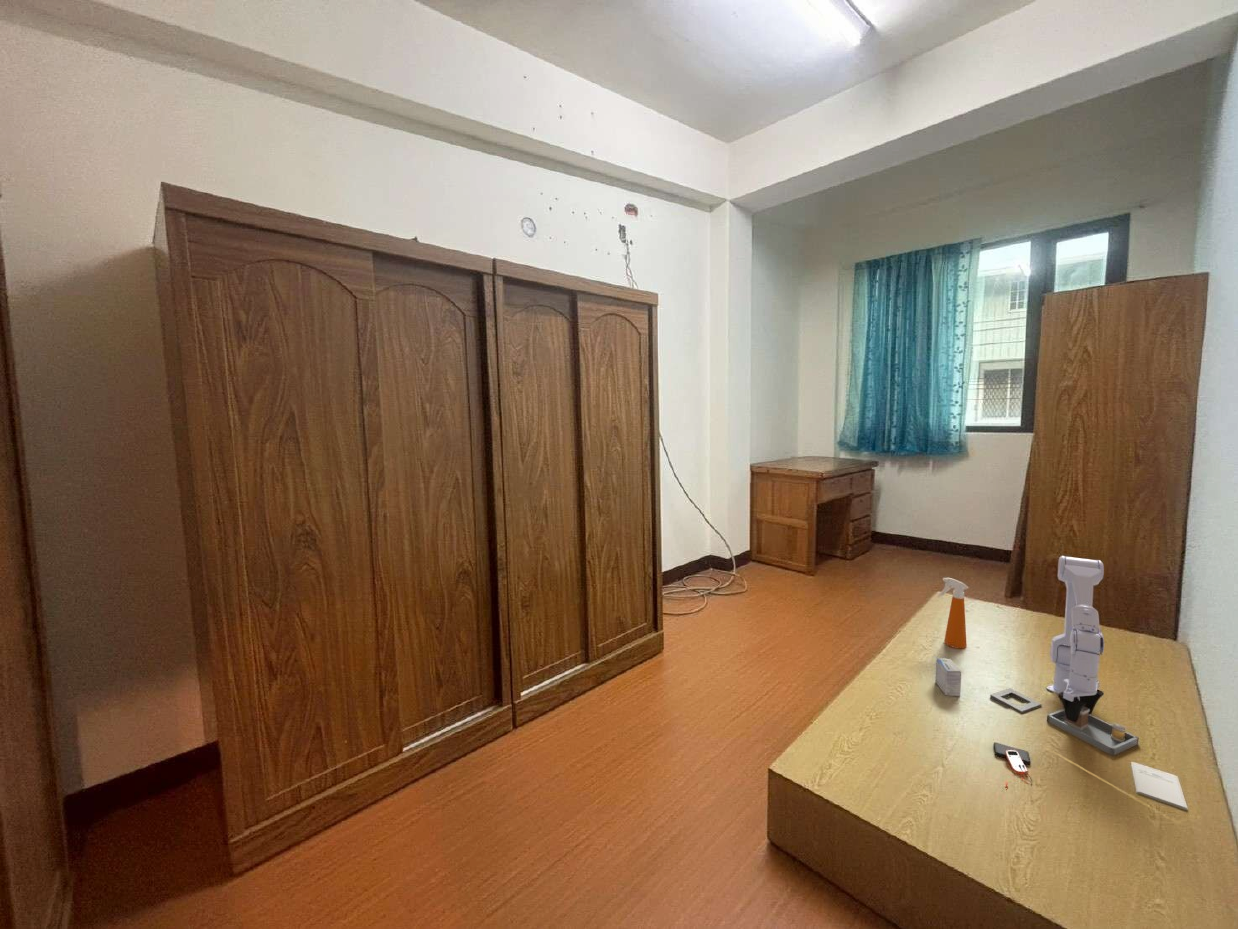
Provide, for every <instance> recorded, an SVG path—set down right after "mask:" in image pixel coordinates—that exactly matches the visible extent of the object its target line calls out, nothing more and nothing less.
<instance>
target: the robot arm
mask: <svg viewBox="0 0 1238 929" xmlns="http://www.w3.org/2000/svg"><path fill="white" fill-rule="evenodd" d="M1057 563H1058V564H1057V578H1058V580H1059V581H1061V582H1063V583H1064V584H1065V588H1066V592H1065V594H1066V596H1065V609H1064V610H1065V611H1064V612H1065V613H1064V626H1063V628H1064V629H1063V633H1062V634H1058V635H1056V636H1054V637H1052V639H1051V645H1050V652H1049V653H1050V654H1049V656H1050V661H1051V662H1052V664H1055V666H1054V675H1053V676H1054V677H1053V683H1052V685H1049V686H1047V687H1045V688H1046V690H1048V691H1049V692H1052V693H1056V694H1058V698H1059V700H1060V701H1061V704H1062V705H1063V706H1062V707H1063V709H1065V714H1066V718H1067V719H1068V720H1070V721H1073V722H1075V723H1076V722H1077V721H1078V718H1079V715H1080V712H1081V710H1082V708H1083V707H1086V708H1088V709H1090V710H1089V713H1088V714H1089V715H1092V713H1093V711H1094V709H1095V706H1096V705H1097V703H1098V702H1099V700H1100V699H1101V698H1102V696H1103V697H1104V691H1102V690H1100V689H1099V688H1100V681H1099V680H1098V677H1099V676H1098V673H1099V664H1100V656H1103V654H1104V650H1105V637H1104V634H1103V632H1102V631H1103V630H1102V629H1101V627H1100V616H1099V611H1098V610H1097V609H1096V608H1094V607H1093V604H1094V603H1093V600H1094V586H1098V585H1099V583H1100V582H1101V581H1102V580H1103V579H1104V574H1105V571H1104V570H1105V567H1104V563H1103V561H1101V560H1100V559H1089V558H1082V557H1081V558H1079V557H1072V556H1065V555H1060V557H1059V558H1058V562H1057Z"/></svg>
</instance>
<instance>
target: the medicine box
mask: <svg viewBox="0 0 1238 929" xmlns="http://www.w3.org/2000/svg"><path fill="white" fill-rule="evenodd" d="M934 678H935V680H934V681H935V683H936V684H937V686H938V687H939V688H940V689H941V692H942V693H943V694H944V695H945V696H950V697H951V696H952V697H961V689H962V688H961V685H962V671H961V670H960V669H959V667H958V666H957V664H955V663H954V661H953V660H952V659H951V658H940V657H938V658H936V662H935V677H934Z"/></svg>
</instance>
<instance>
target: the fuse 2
mask: <svg viewBox="0 0 1238 929" xmlns="http://www.w3.org/2000/svg"><path fill="white" fill-rule="evenodd" d="M1111 725H1112V734H1111V739H1113V740H1114V741H1116V742H1119V743H1122V742H1124V740H1125V739H1124V736H1125V731H1126V730H1127V728H1126V726H1124V725H1123V724H1121V723H1117V722H1113V723H1112V724H1111ZM1126 732H1127V731H1126Z"/></svg>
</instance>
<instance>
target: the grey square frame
mask: <svg viewBox="0 0 1238 929" xmlns="http://www.w3.org/2000/svg"><path fill="white" fill-rule="evenodd" d="M1010 697H1013V698H1015V699H1017V700H1019V701H1021V702H1023V703H1025V704H1023V705H1017V704H1015V703H1014V702H1012V701H1009V700H1008V699H1006V698H1010ZM989 698H990V699H991V700H993V701H995V702H997V704H998V703H999V704H1000V705H1003V706H1004V707H1006V708H1008V709H1012V710H1014V711H1016V712H1018V713H1019V714H1025V713H1027V712H1030V711H1032V710H1035V709H1038V708H1041V707H1042V705H1043V704H1042V703H1040V702H1039V701H1036V700H1035V699H1032V698H1031V697H1029V696H1026V695H1024V694H1022V693H1020V692H1019V691H1017V690H1015V689H1013V688H1011V687H1008V688H1006V689H1002V690H1000V691H998V692H994V693H991V694H990V696H989Z"/></svg>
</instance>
